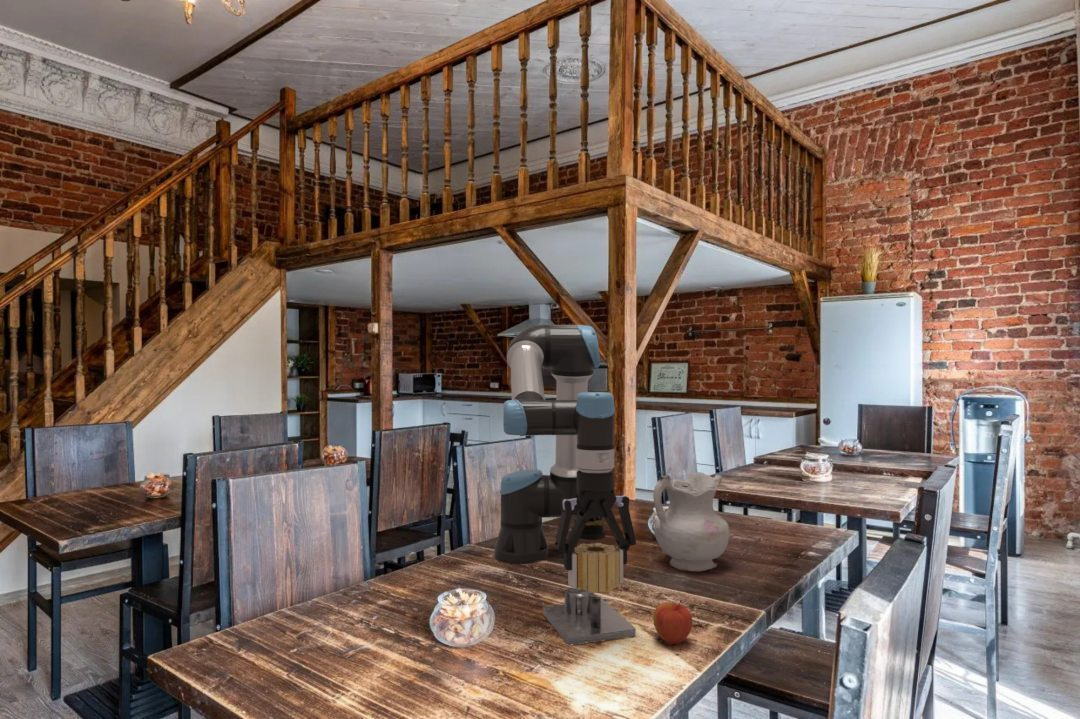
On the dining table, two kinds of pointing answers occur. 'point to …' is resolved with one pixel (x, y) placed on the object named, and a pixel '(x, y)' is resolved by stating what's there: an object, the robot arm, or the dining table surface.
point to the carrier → (587, 619)
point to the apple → (672, 622)
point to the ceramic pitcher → (690, 522)
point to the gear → (597, 567)
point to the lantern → (593, 529)
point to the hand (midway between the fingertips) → (595, 583)
